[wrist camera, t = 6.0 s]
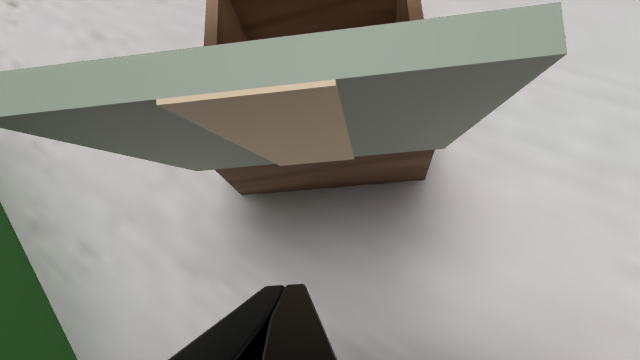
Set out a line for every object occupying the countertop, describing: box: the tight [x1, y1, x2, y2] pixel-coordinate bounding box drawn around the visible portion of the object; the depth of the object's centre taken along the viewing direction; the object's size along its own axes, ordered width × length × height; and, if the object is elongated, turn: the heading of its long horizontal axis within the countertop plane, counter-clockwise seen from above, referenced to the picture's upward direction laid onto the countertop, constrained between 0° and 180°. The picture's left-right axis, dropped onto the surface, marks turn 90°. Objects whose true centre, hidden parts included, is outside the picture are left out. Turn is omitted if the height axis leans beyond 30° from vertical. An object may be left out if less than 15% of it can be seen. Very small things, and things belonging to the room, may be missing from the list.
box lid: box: [0, 2, 567, 171], centre depth 12 cm, size 10×10×1 cm
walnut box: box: [204, 0, 435, 195], centre depth 21 cm, size 10×10×6 cm
